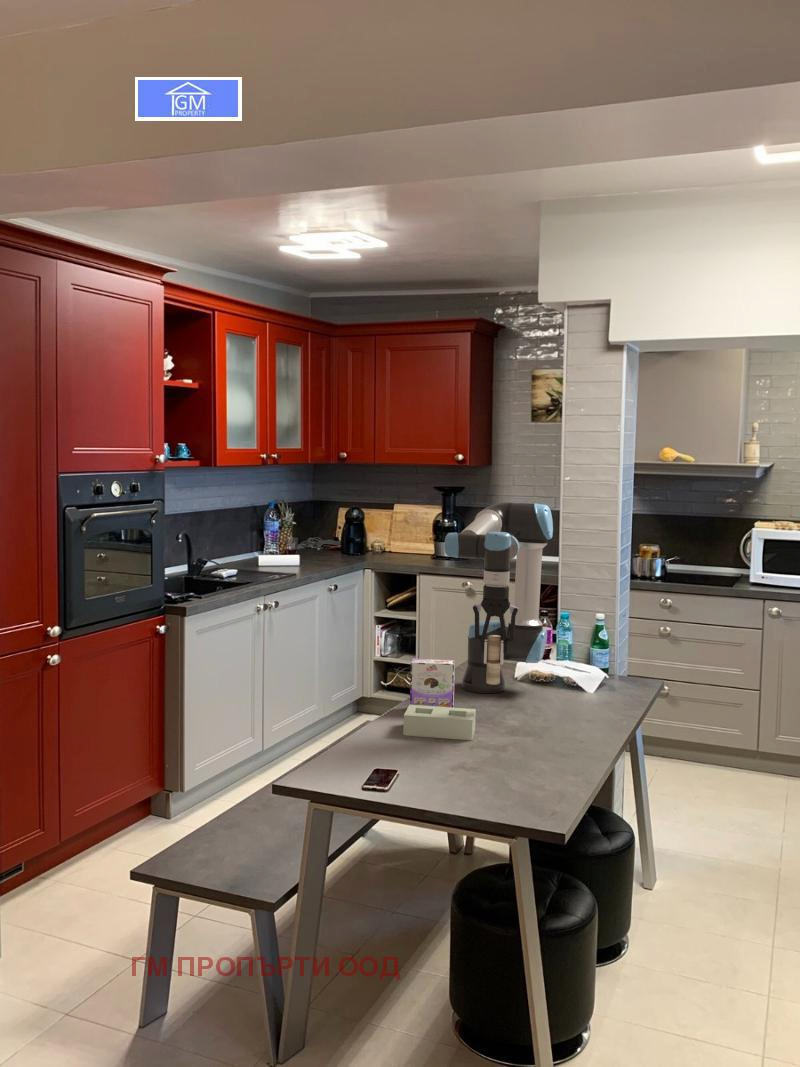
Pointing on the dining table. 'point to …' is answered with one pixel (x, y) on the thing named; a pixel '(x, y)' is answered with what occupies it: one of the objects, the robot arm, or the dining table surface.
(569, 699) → the dining table surface
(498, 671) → the dowel
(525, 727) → the dining table surface
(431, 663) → the candy box
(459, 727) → the pale green holed block
